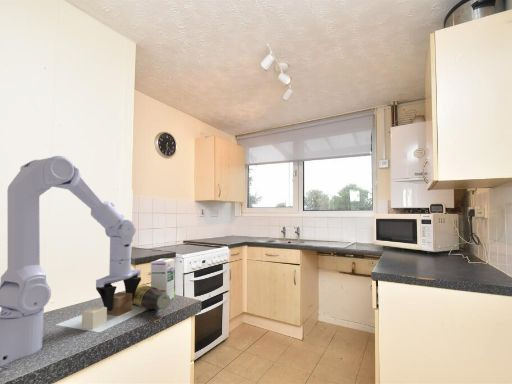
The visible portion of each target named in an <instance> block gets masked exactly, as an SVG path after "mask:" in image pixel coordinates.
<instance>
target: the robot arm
mask: <svg viewBox="0 0 512 384" xmlns="http://www.w3.org/2000/svg"><path fill="white" fill-rule="evenodd" d="M51 188H58V189H64V190H68V191H69V192H70V193H71V194H72V195H74V196H75V197H77V198H78V199H79V200H80V201H81V202H82V203H84V204H85V205H86V207H88V208H90V215H91V216H90V217H92V218H93V219H94V220H96V222H97V223H99V224H100V225H101V227H103V228H104V232H105V235H106V236H107V237H109V268H108V269H109V271H108V272H109V274H108V275H106V276H104V277H101V278H98V279H96V280H95V289H96V291H97V293H98V294H99V296H100V298H101V300H102V304H103V307H107V311H111V310H112V309H113V298H114V294H116V290H117V286H115V285H112V284H115V283H118V282H122V281H123V284H124V289H125V290H124V291H125V292H124V293H132V302H133V299H134V295H135V292H136V289H137V287H138V285H140V282H141V281H142V277H141V271H142V270H141V269H131V267H132V266H131V265H132V264H131V263H132V259H131V257H132V243H133V237H134V236H135V234H136V231H137V229H136V227H135V225H134V223H133V221H131V220H129V219H126V218H125V216H124V214H121V213H120V212H119V211H118V209H116V207H115V204H114V203H113V202H110V201H106V200H105V201H103V200H102V199H101V198H100V197H99V196H98V195H97V194H96V192H95V191H94V189H92V187H91V186H90V185H89V184H88V183H87V181H86V180H85V179H84V178H83V177H82V175H81V173H80V170H79V167H76V166H75V165H74V164H73V162H72V161H71V160H70V159H69V158H67V157H65V156H63V155H54V156H51V157H46V158H42V159H32V160H31V161H29V162H27V163H25V164H23V165H21V166H20V168H19V172H18V173H17V174H16V176H15V177H14V178H13V180H12V181H11V182H10V184H9V185H8V187H7V269H6V270H5V271H4V273H3V274H2V275H1V277H0V372H2V371H5V370H8V368H7V367H3V366H4V365H7V364H9V363H12V362H14V361H16V360H18V359H21V358H25V357H27V356H30V355H33V354H34V353H36V352H38V351H39V350H41V349H42V348H43V334H44V332H43V331H44V310H45V307H46V306H47V304H48V303H49V301H50V299H51V298H52V297H51V296H52V290H51V287H50V285H48V282H47V275H46V273H45V271H44V270H43V268H42V267H41V265H40V264H41V263H40V262H41V260H40V259H41V258H40V257H41V256H40V255H41V254H40V253H41V252H40V251H41V250H40V249H41V248H40V244H41V243H40V236H41V235H40V197H41V195H43V194H44V193H46V192H47V191H48V190H50V189H51Z"/></svg>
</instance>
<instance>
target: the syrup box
mask: <svg viewBox="0 0 512 384" xmlns="http://www.w3.org/2000/svg"><path fill="white" fill-rule="evenodd" d="M175 262H176V261H175V258H170V257H168V258H159V259H157V260H154V261H150V287H154V288H157V289H159V290H160V291H162V292H163V294H167V295H168V296H169V297H170V303H171V302H173V301H175V300H176V271H175V270H176V269H175V268H176V265H175Z"/></svg>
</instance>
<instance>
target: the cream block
mask: <svg viewBox="0 0 512 384" xmlns="http://www.w3.org/2000/svg"><path fill="white" fill-rule="evenodd" d="M81 311H82V312H81V313H82V314H81V315H82V327H84V328H90V329H94V328H96V327H98V326H101V325H103V324H105V323H107V307H104V306H98V305H95V306H92V307H91V308H90V307H89V308H87V309H84V310H81Z"/></svg>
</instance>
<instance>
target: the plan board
mask: <svg viewBox="0 0 512 384" xmlns="http://www.w3.org/2000/svg"><path fill="white" fill-rule="evenodd" d="M148 310H149V309H148V308H144V307H141V306H138V305H133V304H132V310H131V311H129V312H127V313H125V314H122V315H120V316H113V315H107V323H105V324H103V325H101V326H98V327H96V328H94V329H90V328H84V327H82V314H79V315H78V316H75V317H72V318H70V319H68V320H64V321H62V322H59V323H57V324H55V326H58V327H65V328H70V329H78V330H83V331H88V332H94V333H102V332H104V331H106V330H109V329H111V328H112V327H114V326H116V325H118V324H120V323H123V322H124V321H127V320H129V319H131V318H133V317H135V316H137V315H139V314H141V313H143V312H145V311H148Z"/></svg>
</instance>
